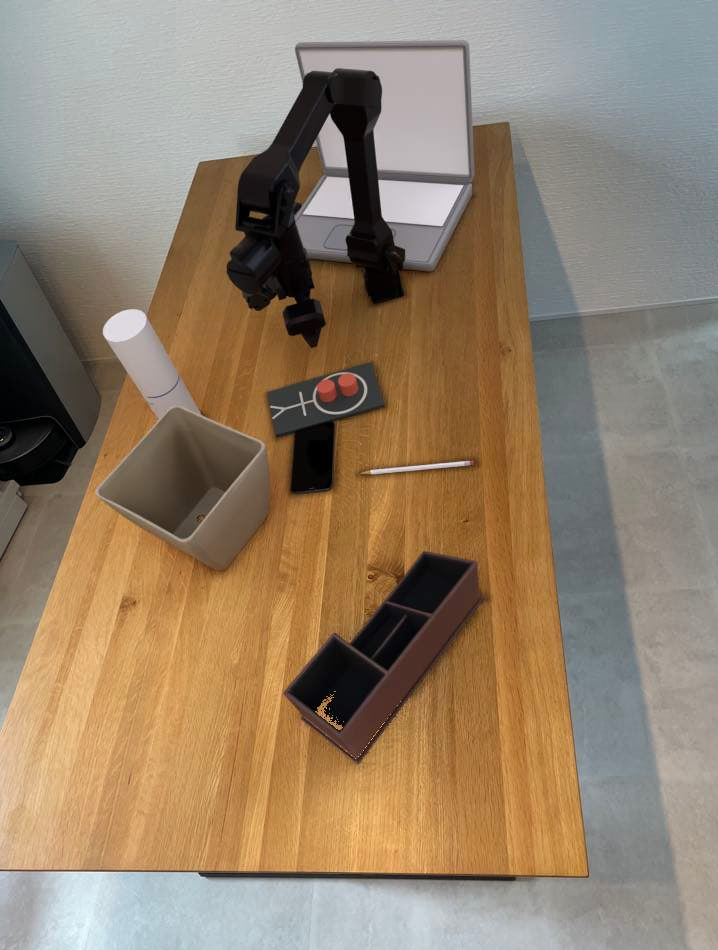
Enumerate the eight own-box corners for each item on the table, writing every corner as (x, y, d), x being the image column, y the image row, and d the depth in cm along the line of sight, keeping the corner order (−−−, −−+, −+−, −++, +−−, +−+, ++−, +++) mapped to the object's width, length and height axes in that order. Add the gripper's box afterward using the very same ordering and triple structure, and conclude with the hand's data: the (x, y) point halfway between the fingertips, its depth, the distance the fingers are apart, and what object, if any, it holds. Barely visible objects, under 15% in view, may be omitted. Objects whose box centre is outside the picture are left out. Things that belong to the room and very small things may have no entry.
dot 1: (335, 387, 123) (332, 377, 121) (338, 399, 122) (335, 389, 120) (318, 391, 124) (315, 382, 121) (321, 404, 122) (318, 394, 120)
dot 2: (356, 381, 123) (353, 371, 121) (360, 393, 121) (357, 383, 119) (339, 386, 123) (336, 376, 121) (342, 398, 122) (339, 388, 120)
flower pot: (297, 506, 112) (267, 442, 98) (228, 598, 106) (185, 543, 91) (212, 467, 120) (173, 402, 106) (143, 550, 114) (91, 493, 99)
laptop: (277, 257, 148) (232, 120, 124) (328, 179, 160) (296, 40, 135) (432, 275, 135) (416, 126, 111) (476, 189, 147) (470, 38, 123)
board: (371, 364, 126) (370, 361, 125) (384, 407, 120) (383, 403, 119) (268, 394, 127) (266, 391, 126) (276, 438, 121) (274, 434, 120)
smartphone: (295, 427, 122) (290, 496, 114) (294, 424, 121) (289, 493, 113) (336, 423, 121) (333, 491, 113) (335, 419, 120) (332, 489, 112)
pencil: (474, 465, 110) (474, 463, 110) (360, 476, 113) (360, 474, 113) (473, 461, 110) (473, 459, 110) (360, 472, 114) (360, 470, 113)
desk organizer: (300, 719, 93) (277, 693, 84) (426, 563, 102) (418, 523, 93) (358, 766, 89) (340, 744, 79) (485, 598, 98) (483, 560, 88)
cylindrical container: (199, 445, 123) (136, 341, 102) (164, 444, 125) (95, 341, 104) (211, 415, 127) (152, 308, 106) (176, 414, 129) (112, 309, 108)
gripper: (229, 231, 110) (258, 308, 123) (241, 304, 100) (272, 379, 113) (295, 211, 109) (317, 290, 123) (314, 282, 99) (336, 360, 112)
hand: (309, 329), depth 118 cm, fingers open, 9 cm apart
